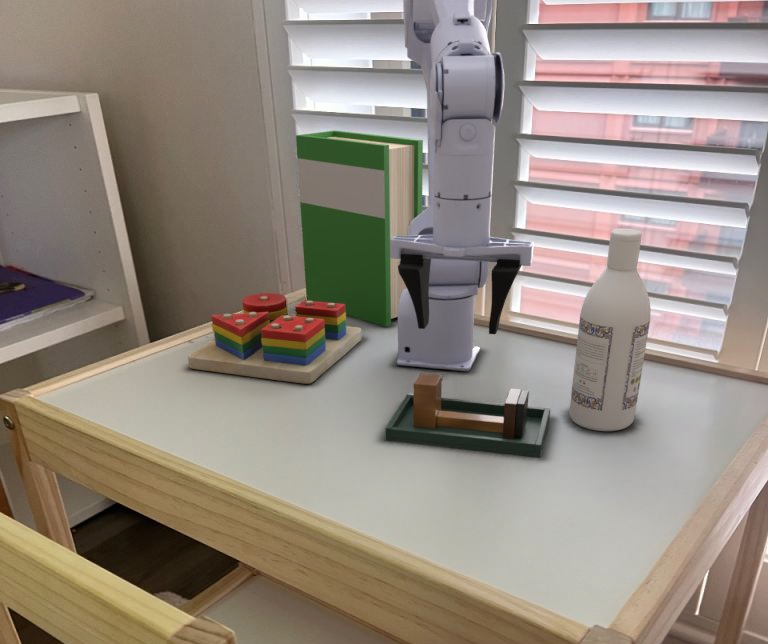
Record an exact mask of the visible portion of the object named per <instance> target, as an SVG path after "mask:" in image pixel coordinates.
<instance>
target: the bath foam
mask: <svg viewBox="0 0 768 644" xmlns="http://www.w3.org/2000/svg"><path fill="white" fill-rule="evenodd" d="M609 237H610V238H609V242H608V243H609V244H608V250H607V251H608V252H607V258H606V259H607V260H606V267H605V269H604V270H603V271H602V273H601V274H600V275H599V277H598V278H597V279H596V280H595V281H594V283H593V284H592V286H591V287H590V288H589V290H588V291H587V293H586V295H585V298H584V299H583V302H582V305H581V310H580V314H579V322H578V332H577V339H576V348H575V357H574V358H575V359H574V365H573V367H574V368H573V377H572V385H571V393H570V404H569V416H570V418H571V420H572V422H574V423H575V424H576V425H578V426H580V427H582V428H584V429H587V430H592V431H596V432H597V431H598V432H614V431H615V432H616V431H620V430H625V429H626V428H628V427H629V426H631V425H632V424H633V422H634V421H635V415H636V409H637V403H638V398H639V392H640V385H641V380H642V373H643V367H644V360H645V354H646V349H647V343H648V337H649V336H648V335H649V329H650V323H651V301H650V296H649V293H648V291H647V288H646V285H645V284H644V281H643V279H642V277H641V275H640V273H639V272H638V263H639V257H640V251H641V250H640V249H641V243H642V237H643V233H642V231H641V230H639V229H635V228H628V227H627V228H625V227H624V228H623V227H622V228H621V227H620V228H615V229H612V230H611V232H610V236H609Z"/></svg>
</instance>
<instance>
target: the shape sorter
mask: <svg viewBox="0 0 768 644" xmlns="http://www.w3.org/2000/svg"><path fill="white" fill-rule="evenodd" d="M287 300H288V299H287V296H286V295H284V294H281V293H277V292H275V293H274V292H260V293H254V294H249V295H247V296H245V297H243V299H242V301H241V303H242V311H243V313H224V314H211V316H210V317H211V318H210V319H211V322H212V323H211V329H212V332H213V335H214V339H212V340H210V341H209V342H207V343H206V344H204V345H202V346H201V347H199V348H198V349H196V350H194V351H193V352H191V353H190V354H188V356H187V360H188V368H189V369H192V370H200V371H207V372H215V373H220V374H221V373H222V374H229V375H230V374H231V375H235V376H243V377H244V376H245V377H251V378H259V379H267V380H275V381H281V382H287V383H295V384H296V383H297V384H303V385H304V384H307V385H309V384H313V382H314V381H316V380H317V379H318V378H320V376H322V375H323V374H325V372H326V371H327V370H328V369H330V368H331V367H332V366H333V365H334V364H336V363H337V362H338V361H339V360H340V359H341V358H342V357H343V356H345V355H346V354H347V353H348V352H350V351H351V349H353V348H354V347H356V345H357V344H359V343H360V342H361V341H362V328H361V327H357V326H349V325H348V326H347V315H346V312H345V311H346V306H345V304H339V303H328V302H317V301H307V299H306V300H305V299H304V300H303V301H301V302H299V303H298V304H296V305H295V306H294V307H295V310H294V311H295V313H296V314H295V315H289V312H288V302H287Z"/></svg>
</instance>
